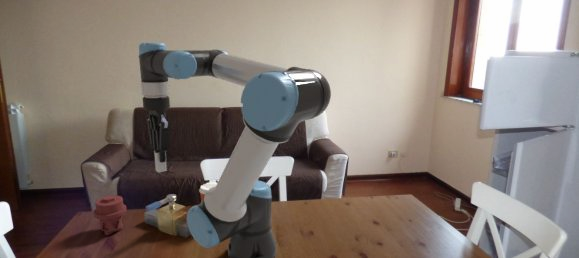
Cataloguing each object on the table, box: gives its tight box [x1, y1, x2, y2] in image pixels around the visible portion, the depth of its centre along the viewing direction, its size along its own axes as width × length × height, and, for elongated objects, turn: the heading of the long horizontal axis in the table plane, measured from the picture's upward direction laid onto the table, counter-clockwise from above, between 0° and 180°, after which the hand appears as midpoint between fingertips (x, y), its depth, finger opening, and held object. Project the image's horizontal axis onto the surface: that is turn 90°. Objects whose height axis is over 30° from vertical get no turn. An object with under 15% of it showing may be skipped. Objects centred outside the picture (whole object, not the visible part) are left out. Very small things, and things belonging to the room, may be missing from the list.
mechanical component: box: [93, 194, 127, 236], centre depth 125 cm, size 12×10×10 cm
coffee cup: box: [198, 181, 218, 203], centre depth 129 cm, size 8×8×15 cm
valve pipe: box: [143, 201, 192, 238], centre depth 128 cm, size 20×6×11 cm, turn 61°
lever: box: [145, 193, 177, 212], centre depth 122 cm, size 3×12×1 cm, turn 151°
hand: (161, 170), depth 114 cm, fingers closed
